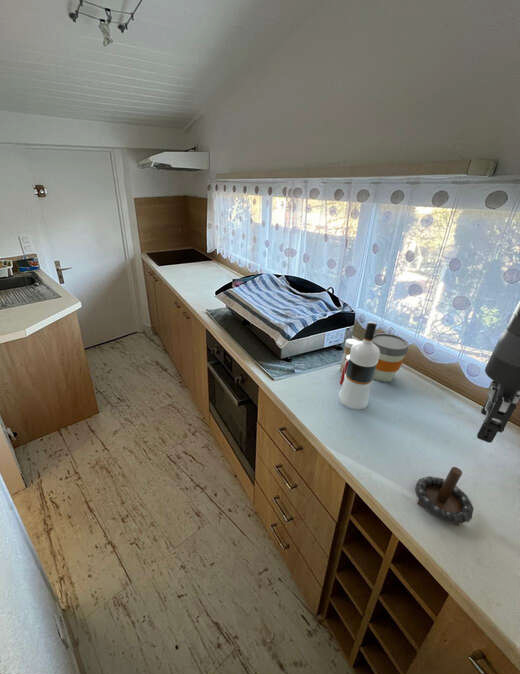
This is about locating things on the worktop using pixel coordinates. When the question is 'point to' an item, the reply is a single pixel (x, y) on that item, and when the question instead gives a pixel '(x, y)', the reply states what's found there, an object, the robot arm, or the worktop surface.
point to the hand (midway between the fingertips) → (485, 426)
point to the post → (446, 493)
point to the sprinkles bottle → (347, 350)
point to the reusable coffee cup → (389, 355)
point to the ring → (442, 514)
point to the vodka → (360, 371)
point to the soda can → (344, 370)
